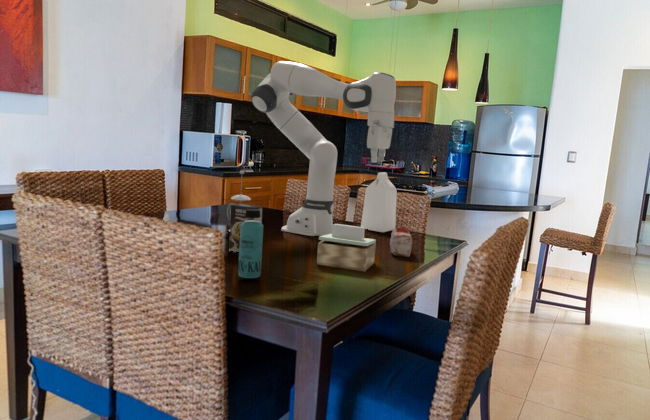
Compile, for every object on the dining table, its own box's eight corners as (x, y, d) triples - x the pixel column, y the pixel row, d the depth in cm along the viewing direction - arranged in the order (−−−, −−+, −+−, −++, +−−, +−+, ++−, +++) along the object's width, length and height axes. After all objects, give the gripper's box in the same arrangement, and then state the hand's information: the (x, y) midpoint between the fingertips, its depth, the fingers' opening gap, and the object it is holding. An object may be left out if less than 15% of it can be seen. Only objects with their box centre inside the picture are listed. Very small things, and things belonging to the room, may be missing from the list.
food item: (412, 258, 180) (415, 231, 178) (390, 256, 180) (392, 229, 178) (407, 249, 193) (410, 224, 192) (387, 248, 193) (389, 223, 192)
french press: (256, 232, 207) (259, 171, 203) (237, 236, 197) (239, 172, 193) (238, 228, 212) (241, 169, 208) (218, 232, 202) (221, 169, 199)
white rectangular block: (331, 236, 164) (332, 224, 164) (334, 235, 167) (336, 223, 167) (361, 240, 161) (362, 228, 161) (363, 239, 164) (365, 227, 163)
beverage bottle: (238, 276, 143) (241, 206, 140) (261, 277, 143) (265, 207, 141) (236, 283, 136) (239, 210, 134) (260, 284, 137) (264, 211, 134)
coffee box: (228, 251, 171) (229, 204, 169) (237, 248, 177) (239, 202, 175) (252, 255, 168) (254, 207, 166) (260, 251, 174) (263, 205, 172)
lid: (318, 239, 161) (318, 236, 161) (331, 236, 173) (331, 233, 173) (366, 246, 156) (366, 242, 156) (376, 242, 168) (376, 239, 168)
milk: (373, 225, 242) (378, 171, 238) (395, 229, 235) (400, 173, 231) (360, 228, 232) (364, 171, 228) (382, 232, 226) (387, 174, 222)
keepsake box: (316, 264, 162) (318, 242, 161) (328, 256, 173) (330, 236, 172) (364, 271, 157) (366, 249, 156) (374, 263, 168) (375, 242, 167)
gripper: (383, 120, 161) (379, 163, 163) (395, 123, 181) (392, 162, 183) (363, 119, 163) (360, 162, 165) (378, 122, 182) (375, 160, 184)
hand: (377, 162), depth 174 cm, fingers open, 8 cm apart
